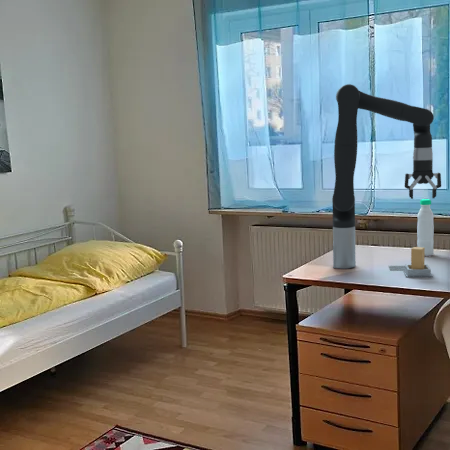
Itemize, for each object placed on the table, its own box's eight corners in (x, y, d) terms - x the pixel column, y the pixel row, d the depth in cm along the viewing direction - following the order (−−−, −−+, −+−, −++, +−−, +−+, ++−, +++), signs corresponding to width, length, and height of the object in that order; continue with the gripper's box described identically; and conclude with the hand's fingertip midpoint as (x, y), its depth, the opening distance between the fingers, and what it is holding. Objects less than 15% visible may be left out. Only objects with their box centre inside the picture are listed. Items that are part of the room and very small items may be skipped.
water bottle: (434, 256, 285) (434, 200, 282) (417, 256, 287) (418, 200, 283) (432, 253, 292) (433, 198, 289) (416, 253, 294) (416, 198, 290)
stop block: (411, 273, 251) (411, 248, 250) (414, 271, 255) (414, 246, 253) (421, 274, 249) (421, 249, 248) (424, 272, 253) (424, 247, 251)
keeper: (405, 278, 248) (405, 269, 248) (403, 272, 258) (403, 264, 257) (432, 278, 246) (432, 269, 246) (429, 272, 256) (429, 264, 256)
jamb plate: (390, 271, 260) (390, 270, 260) (388, 266, 269) (388, 265, 269) (420, 271, 258) (420, 270, 258) (418, 266, 267) (418, 265, 267)
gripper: (405, 159, 260) (405, 199, 262) (442, 158, 257) (442, 199, 260) (403, 158, 267) (403, 197, 270) (439, 157, 265) (439, 197, 267)
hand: (422, 198), depth 265 cm, fingers open, 8 cm apart
